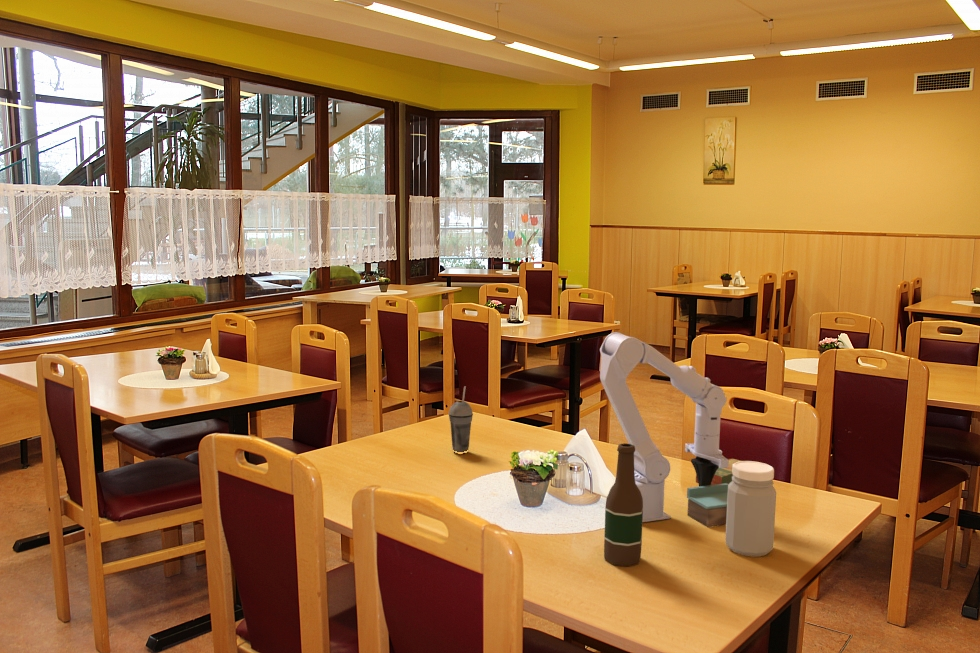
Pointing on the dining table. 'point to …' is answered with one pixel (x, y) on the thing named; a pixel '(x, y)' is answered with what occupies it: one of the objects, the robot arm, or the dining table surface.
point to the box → (707, 514)
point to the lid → (709, 495)
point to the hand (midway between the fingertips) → (704, 488)
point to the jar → (751, 509)
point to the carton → (723, 474)
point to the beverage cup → (460, 424)
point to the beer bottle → (624, 513)
